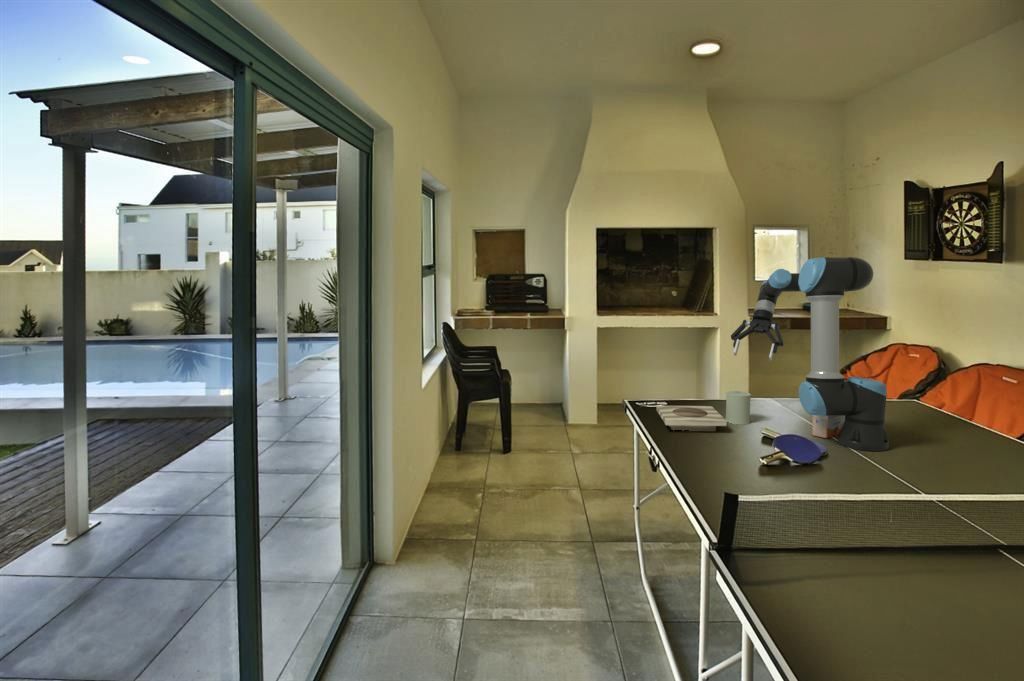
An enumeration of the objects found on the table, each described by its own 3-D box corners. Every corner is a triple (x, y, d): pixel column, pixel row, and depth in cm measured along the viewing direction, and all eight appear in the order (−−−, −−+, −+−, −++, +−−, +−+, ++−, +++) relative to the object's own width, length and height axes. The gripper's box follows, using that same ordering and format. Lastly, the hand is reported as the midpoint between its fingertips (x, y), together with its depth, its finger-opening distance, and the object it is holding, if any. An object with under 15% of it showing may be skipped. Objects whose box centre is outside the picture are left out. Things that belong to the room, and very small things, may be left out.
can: (745, 418, 233) (747, 389, 232) (753, 425, 224) (754, 395, 223) (722, 418, 234) (723, 389, 233) (728, 424, 225) (729, 394, 224)
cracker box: (828, 439, 204) (829, 381, 202) (811, 436, 209) (812, 379, 207) (846, 432, 213) (848, 376, 210) (829, 429, 217) (831, 374, 215)
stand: (726, 433, 213) (726, 419, 213) (665, 433, 215) (666, 419, 215) (711, 418, 235) (711, 405, 234) (656, 417, 237) (656, 404, 236)
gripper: (796, 321, 237) (786, 365, 229) (733, 315, 251) (722, 356, 243) (795, 311, 231) (785, 356, 223) (731, 305, 245) (719, 347, 237)
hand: (752, 356), depth 233 cm, fingers open, 13 cm apart
